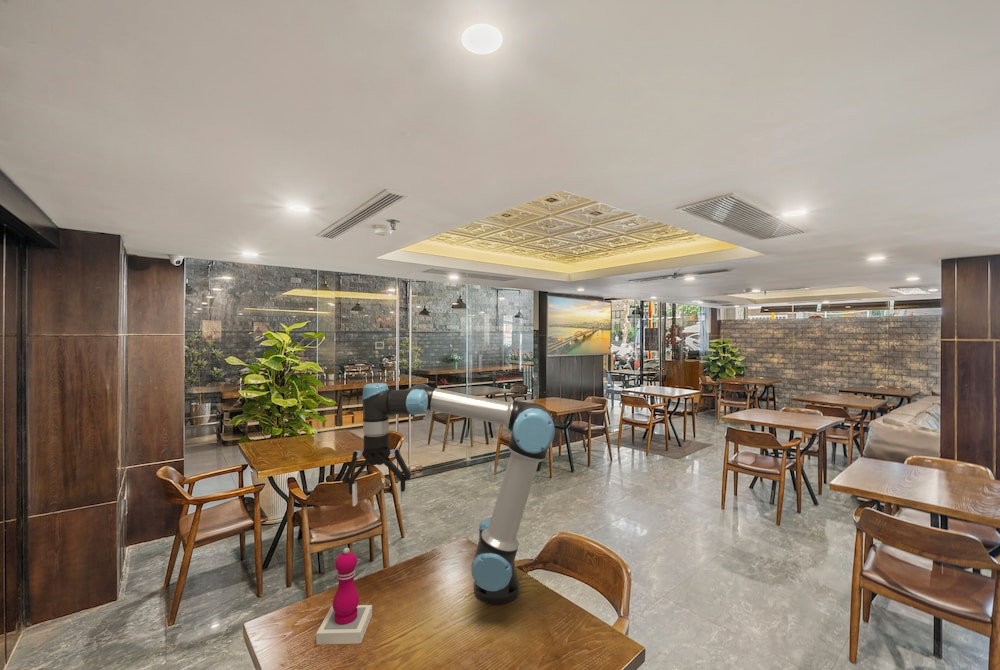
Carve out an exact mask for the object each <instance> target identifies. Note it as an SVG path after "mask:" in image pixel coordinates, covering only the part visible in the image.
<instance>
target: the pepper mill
mask: <svg viewBox="0 0 1000 670" xmlns="http://www.w3.org/2000/svg"><path fill="white" fill-rule="evenodd" d="M357 564H358V557H357V555H356V554H355V553H354V552H352V551H350V548H349V547H344V549H342V553H340V554H339V555H338V556H337V557H336V559H335V563H334V567H335V570H336V578H337V579H338V586H337V589H336V592H335V594H334V597H333V600H332V606H333V609H334V611H335V614H334V620H335V622H336V623H337V624H342V625H343V624H348V623H351V622H353V621H354V620H355V619H356V618H357V606H358V605H359V603H360V597H359V592H358V589H357V587H356V586H355V581H354V579H355V577H354V576H355V575H356V566H357Z"/></svg>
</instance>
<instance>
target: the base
mask: <svg viewBox="0 0 1000 670" xmlns="http://www.w3.org/2000/svg"><path fill="white" fill-rule="evenodd" d="M334 614H335V611H334V609H333V605H331V607H330V608H329V610H328V612H327V614H326V616H325V617H324V619H323V621H322V622H321V624H320V626H319V628H318V630H317V631H316V635H315V636H316V637H315V645H349V644H351V645H352V644H355V645H356V644H361V643H362V641H363V639H364V636H365V633H366V631H367V629H368V627H369V624H370V622H371V619H372V617H373V605H372V604H360V605H359V604H358V606H357V618H356V619H355V620H354V621H353V622H351V623H348V624H343V625H342V624H337V623H336V622H335V620H334Z"/></svg>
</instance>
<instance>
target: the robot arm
mask: <svg viewBox="0 0 1000 670" xmlns="http://www.w3.org/2000/svg"><path fill="white" fill-rule="evenodd" d="M361 400H362V416H363V417H362V419H363V420H362V426H363V428H362V431H363V434H364V435H363V450H359V449H355V450H354V451H353V452H352V459H351V461H350V463H349V465H348V467H347V470H346V471H345V474H344V476H343V478H342V483H344V484H345V483H346V484H348V493H349V494H348V495H351V496H352V507H356V505H357V504H358V481H356V479H357V478H358V477H359V475H360V474H361V473H362V472H363V471H364V470H365V468H366V467H367V466H368V465H370V466H375V465H377V466H382V465H384V466H386V467H387V468H388V469H389V470H390V471H391V472H392V473H393V474H394V476H395V477H396V478H397V479H398V482H397V501H398V502H397V503H398V505H400V504H402V503H403V502H402V501H403V492H405V491H406V480H410V479H411V476H412V473H411V471H410V469H409V468H408V466H407V464H406V463H405V460H404V458H403V456H402V455H401V450H400V447H396V448H395V449H394V448H393V449H391V448H390V434H389V431H390V430H389V429H390V427H389V426H390V425H389V424H390V423H389V421H390V420H389V419H390V418H389V415H392V416H393V415H411V416H416V415H424V414H425V413H426V412H427V411H433V412H438V413H443V414H448V415H452V416H453V415H454V416H458V417H463V418H468V419H472V420H477V421H482V422H488V423H492V424H497V425H503V426H504V427H505V428H506V429H507V430H510V431H511V430H512V432H511V434H510V435H511V436H510V438H509V441H508V445H507V447H508V449H509V451H510V455H509V456H510V457H509V459H508V462H507V466H506V468H505V471H504V476H503V479H502V481H501V486H500V488H499V493H498V495H497V499H496V502H495V506H494V508H493V512H492V515H491V518H490V517H489V518H485V519H483V520H481V521H480V523H479V526H478V527H479V528H478V530H479V533H478V534H479V536H478V543H477V546H476V549H475V554H474V557H473V560H472V563H471V575H472V579H473V581H474V582H473V594H474V596H475V597H476V599H478V600H479V601H480V602H483V603H485V604H488V605H489V604H490V605H504V604H508V603H511V602H513V601H514V600H516V599H517V597H518V596H519V595H520V580H519V578H518V574H517V571H516V568H515V560H516V559H515V558H516V555H517V552H518V550H519V545H520V544H519V540H517V535H518V532H519V528H520V524H521V522H522V519H523V515H524V511H525V509H526V506H527V502H528V499H529V497H530V496H529V495H530V493H531V488H532V485H533V482H534V479H535V475H536V472H537V469H538V466H539V463H540V462H542V461H545V460H546V457H547V455H548V451H549V448H550V446H551V444H552V443H553V441H554V438H555V434H556V433H555V432H556V431H555V430H556V429H555V424H554V421H553V417H552V414H551V413H550V410H549V409H548V408H546V406H543V405H542V404H540V403H536V402H528V401H521V400H515V399H512V400H510V401H504V400H497V399H494V398H489V397H484V396H478V395H473V394H468V393H462V392H458V391H452V390H448V389H447V390H446V389H442V388H437V387H433V386H429V385H427V384H425V383H418V384H414V385H413V386H411V387H409V388H406V389H389V385H388V384H387V383H385V382H373V383H367V384H366V383H365V384H364V386H363V387H362V399H361ZM390 455H391V456H393V457H394V458H395V460H396V462H397V464H398V466H399V467H400V469H401V470H400V469H399V468H398V467H397V465H395V464H394V462H393V461H392V459H391V458H390ZM361 457H363V459H364V460H365V461H364V462H363V463H362V464H361V466H360V467H359V468H358V469H357V471H356V472H355V473H354V475H352V477H350V475H351V474H352V471H353V470H354V468H355V466H356V463H357V461H358V459H360V458H361Z"/></svg>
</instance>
